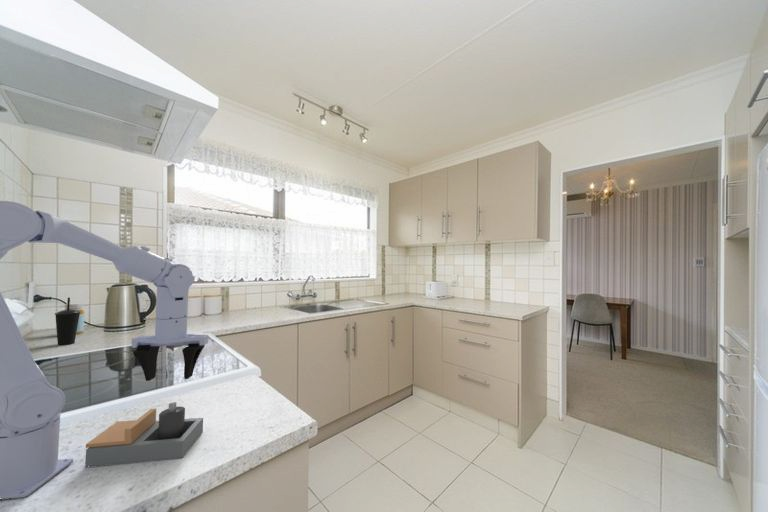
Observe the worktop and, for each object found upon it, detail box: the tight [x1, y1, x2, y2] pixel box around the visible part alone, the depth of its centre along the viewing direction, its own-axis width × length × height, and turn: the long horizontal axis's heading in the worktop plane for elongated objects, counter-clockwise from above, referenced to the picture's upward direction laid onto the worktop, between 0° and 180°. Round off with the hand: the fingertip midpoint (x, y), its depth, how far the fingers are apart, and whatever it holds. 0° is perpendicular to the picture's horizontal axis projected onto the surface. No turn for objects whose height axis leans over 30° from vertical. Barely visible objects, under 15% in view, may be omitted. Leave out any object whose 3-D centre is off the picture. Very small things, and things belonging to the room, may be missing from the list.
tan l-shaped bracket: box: [85, 408, 157, 449], centre depth 53 cm, size 7×7×3 cm
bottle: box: [64, 302, 85, 335], centre depth 139 cm, size 7×7×15 cm
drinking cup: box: [54, 297, 81, 346], centre depth 122 cm, size 8×8×20 cm
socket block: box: [84, 417, 204, 468], centre depth 53 cm, size 15×8×3 cm, turn 100°
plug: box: [158, 401, 186, 440], centre depth 54 cm, size 4×4×8 cm
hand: (169, 378), depth 63 cm, fingers open, 7 cm apart
